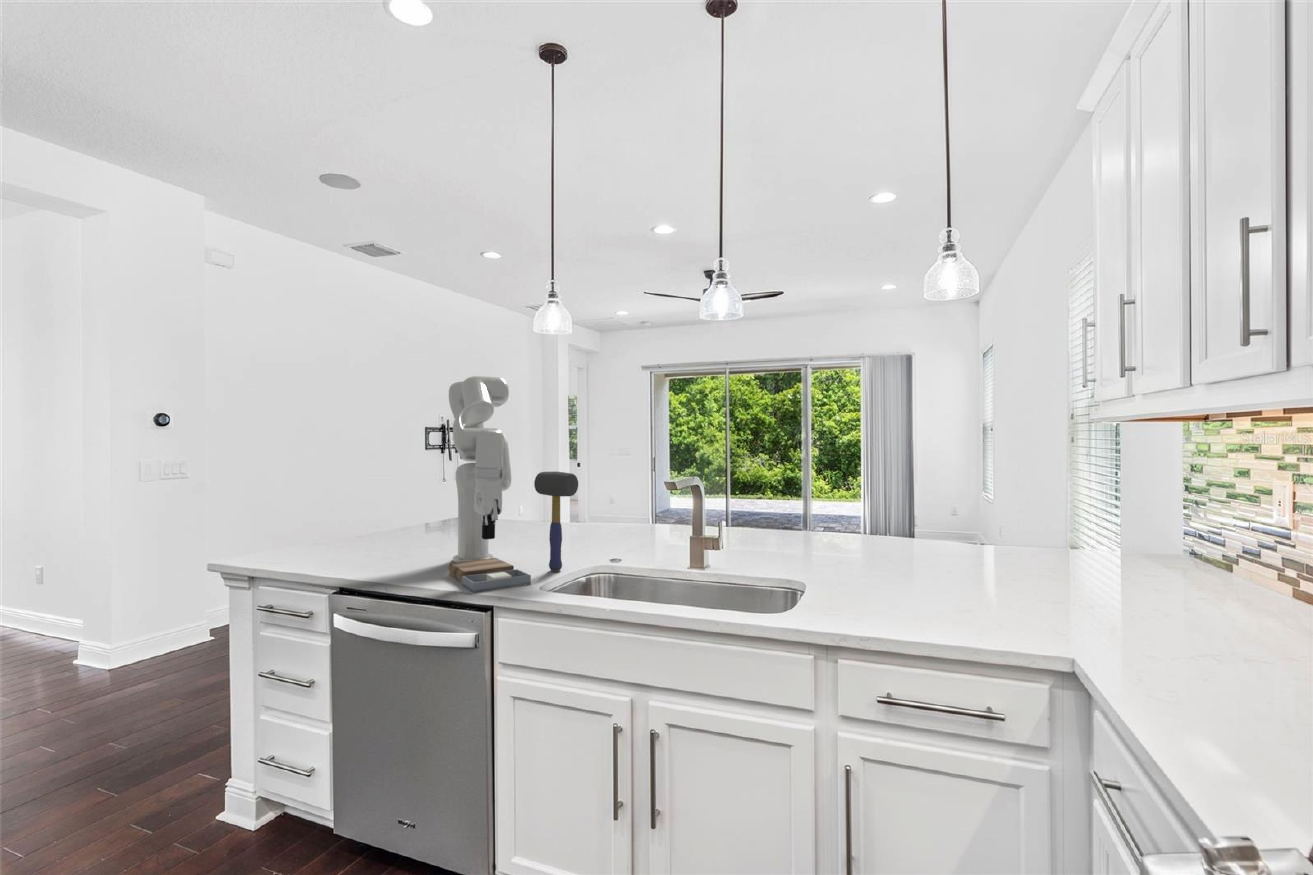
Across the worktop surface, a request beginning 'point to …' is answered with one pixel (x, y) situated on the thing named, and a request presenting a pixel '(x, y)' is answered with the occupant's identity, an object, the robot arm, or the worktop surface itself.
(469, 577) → the tray
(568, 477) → the rubber mallet
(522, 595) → the worktop surface
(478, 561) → the walnut board
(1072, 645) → the worktop surface
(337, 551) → the worktop surface
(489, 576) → the cream tile
